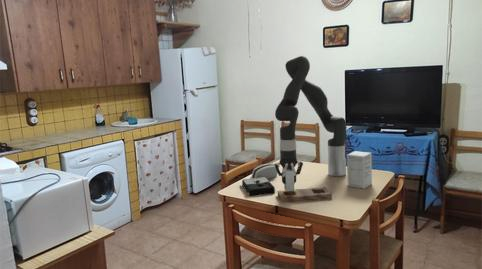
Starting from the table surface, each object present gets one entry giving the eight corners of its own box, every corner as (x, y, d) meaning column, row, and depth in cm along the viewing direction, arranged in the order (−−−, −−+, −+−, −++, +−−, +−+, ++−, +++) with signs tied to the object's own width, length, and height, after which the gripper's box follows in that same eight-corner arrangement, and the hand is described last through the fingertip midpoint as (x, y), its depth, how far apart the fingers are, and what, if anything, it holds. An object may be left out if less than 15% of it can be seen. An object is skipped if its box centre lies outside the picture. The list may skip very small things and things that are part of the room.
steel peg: (292, 188, 177) (292, 168, 175) (294, 190, 173) (293, 170, 171) (284, 188, 177) (283, 168, 175) (286, 191, 173) (285, 171, 171)
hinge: (271, 174, 216) (274, 160, 212) (276, 178, 213) (279, 164, 209) (248, 180, 207) (251, 165, 203) (253, 185, 204) (256, 170, 199)
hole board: (325, 191, 182) (325, 186, 181) (331, 198, 172) (331, 193, 171) (277, 195, 180) (277, 190, 180) (281, 203, 170) (281, 197, 170)
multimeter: (249, 197, 182) (249, 187, 181) (242, 185, 200) (241, 176, 200) (275, 193, 184) (274, 184, 183) (265, 182, 203) (264, 174, 202)
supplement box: (372, 184, 189) (372, 152, 186) (364, 189, 183) (364, 156, 180) (354, 181, 196) (354, 150, 193) (346, 185, 189) (346, 154, 186)
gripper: (301, 145, 175) (301, 179, 178) (271, 147, 174) (273, 182, 177) (304, 149, 168) (305, 184, 171) (274, 151, 167) (275, 187, 170)
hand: (289, 183), depth 174 cm, fingers closed on steel peg, 4 cm apart
